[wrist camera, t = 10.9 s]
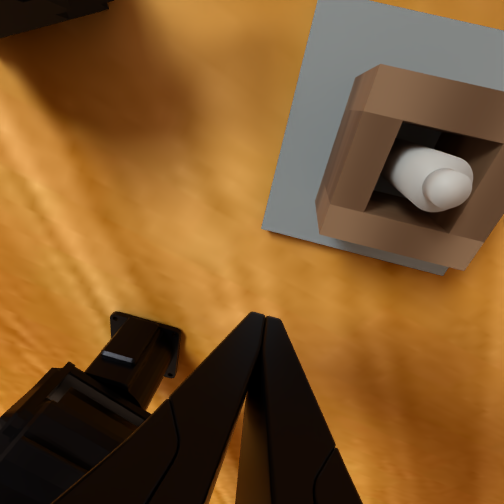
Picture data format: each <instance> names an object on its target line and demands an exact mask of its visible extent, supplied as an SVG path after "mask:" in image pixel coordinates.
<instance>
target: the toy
mask: <svg viewBox="0 0 504 504" xmlns="http://www.w3.org/2000/svg"><path fill="white" fill-rule="evenodd" d="M110 1H114V0H0V38H3V37H7V36H10V35H14V34H18V33H21V32H25V31H29V30H33V29H36V28H40V27H44V26H48V25H51V24H55V23H59V22H63V21H66V20H70V19H74V18H77V17H81V16H85V15H89V14H92V13H96V12H100V11H104V10H107V9H109V8H108V4H107V2H110Z"/></svg>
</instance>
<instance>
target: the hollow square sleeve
mask: <svg viewBox="0 0 504 504" xmlns="http://www.w3.org/2000/svg"><path fill="white" fill-rule="evenodd" d="M402 123H404V124H409V125H413V126H417V127H422V128H426V129H430V130H435V131H439V132H442V133H441V135H440V137H439V139H438V141H437V143H436V145H435V147H434V150H437V151H441V152H444V153H447V154H450V155H453V156H456V157H459V158H461V159H463V160H465V161H466V162H467V163H468V164H469V165H470V167H471V169H472V172H473V183H472V191H471V194H470V195H469V197H468V198H467V199H466V201H464V202H463V203H462V204H460V205H459V206H457V207H454V208H450V209H447V210H445V211H440V212H427V211H424V210H421V209H420V208H418V207H417V206H416V205H414V204H413V203H412V202H411V201H410V200H409V199H408V198H403V197H399V196H395V195H391V194H387V193H383V192H379V191H375V190H374V188H375V185H376V183H377V181H378V178H379V176H380V173H381V171H382V169H383V166H384V164H385V162H386V159H387V157H388V155H389V152H390V150H391V148H392V145H393V143H394V141H395V138H396V136H397V134H398V131H399V129H400V127H401V124H402ZM315 206H316V213H317V221H318V228H319V234H320V235H323V236H327V237H331V238H335V239H339V240H343V241H347V242H351V243H355V244H359V245H363V246H367V247H371V248H375V249H379V250H383V251H387V252H391V253H395V254H399V255H403V256H407V257H411V258H415V259H419V260H422V261H426V262H430V263H434V264H438V265H442V266H446V267H450V268H454V269H458V270H462V271H465V269H466V268H467V266H468V265H469V263H470V262H471V260H472V259H473V258H474V256H475V255H476V253H477V252H478V250H479V249H480V247H481V246H482V244H483V243H484V242H485V240H486V239H487V237H488V236H489V234H490V233H491V231H492V230H493V229H494V227H495V226H496V224H497V223H498V221H499V220H500V218H501V217H502V215H503V214H504V91H500V90H496V89H491V88H487V87H482V86H478V85H473V84H469V83H464V82H460V81H455V80H451V79H446V78H442V77H437V76H433V75H428V74H424V73H419V72H415V71H410V70H406V69H402V68H397V67H393V66H388V65H384V64H379V65H377V66H375V67H373V68H372V69H370V70H368V71H366V72H364V73H362V74H361V75H359V76H357V77H355V80H354V83H353V86H352V89H351V92H350V95H349V98H348V101H347V104H346V108H345V111H344V114H343V117H342V120H341V123H340V126H339V129H338V132H337V135H336V138H335V141H334V144H333V147H332V150H331V153H330V157H329V160H328V163H327V166H326V169H325V172H324V175H323V178H322V181H321V184H320V187H319V190H318V193H317V196H316V199H315Z"/></svg>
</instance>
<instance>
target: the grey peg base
mask: <svg viewBox="0 0 504 504" xmlns="http://www.w3.org/2000/svg"><path fill="white" fill-rule="evenodd" d="M379 64H384V65H388V66H393V67H397V68H402V69H406V70H410V71H415V72H419V73H424V74H428V75H433V76H437V77H442V78H446V79H451V80H455V81H460V82H464V83H469V84H473V85H478V86H482V87H487V88H491V89H496V90H500V91H504V31H503V30H499V29H494V28H490V27H485V26H481V25H476V24H472V23H467V22H463V21H458V20H454V19H449V18H445V17H441V16H436V15H432V14H427V13H423V12H418V11H414V10H409V9H405V8H400V7H396V6H391V5H387V4H382V3H378V2H373V1H369V0H318V2H317V6H316V10H315V14H314V18H313V22H312V26H311V30H310V34H309V38H308V42H307V46H306V50H305V54H304V58H303V62H302V66H301V70H300V74H299V78H298V82H297V86H296V90H295V94H294V98H293V102H292V106H291V110H290V114H289V118H288V123H287V127H286V131H285V135H284V139H283V143H282V147H281V151H280V155H279V159H278V163H277V167H276V171H275V175H274V179H273V183H272V187H271V191H270V195H269V199H268V203H267V207H266V211H265V215H264V219H263V223H262V227H261V229H264V230H268V231H272V232H276V233H280V234H284V235H288V236H291V237H295V238H299V239H303V240H307V241H311V242H314V243H318V244H322V245H326V246H330V247H334V248H337V249H341V250H345V251H349V252H353V253H357V254H360V255H364V256H368V257H372V258H376V259H380V260H383V261H387V262H391V263H395V264H399V265H403V266H406V267H410V268H414V269H418V270H422V271H426V272H429V273H433V274H437V275H441V276H443V275H444V274H445V272H446V271H447V269H448V268H449V267H446V266H442V265H438V264H434V263H430V262H426V261H422V260H419V259H415V258H411V257H407V256H403V255H399V254H395V253H391V252H387V251H383V250H379V249H375V248H371V247H367V246H363V245H359V244H355V243H351V242H347V241H343V240H339V239H335V238H331V237H327V236H323V235H320V234H319V228H318V221H317V213H316V206H315V199H316V196H317V193H318V190H319V187H320V184H321V181H322V178H323V175H324V172H325V169H326V166H327V163H328V160H329V157H330V153H331V150H332V147H333V144H334V141H335V138H336V135H337V132H338V129H339V126H340V123H341V120H342V117H343V114H344V111H345V108H346V104H347V101H348V98H349V95H350V92H351V89H352V86H353V83H354V80H355V77H357V76H359V75H361V74H362V73H364V72H366V71H368V70H370V69H372V68H373V67H375V66H377V65H379ZM441 133H442V132H439V131H435V130H430V129H426V128H422V127H417V126H413V125H409V124H404V123H402V124H401V127H400V129H399V131H398V134H397V136H396V138H395V141H394V143H393V145H392V148H391V150H390V152H389V155H388V157H387V159H386V162H385V164H384V166H383V169H382V171H381V173H380V176H379V178H378V181H377V183H376V185H375V188H374V190H375V191H379V192H383V193H387V194H391V195H395V196H399V197H403V198H408V199H409V200H410V201H411V202H412V203H413V204H414V205H416V206H417V207H418V208H420V209H421V210H424V211H427V212H440V211H445V210H447V209H450V208H454V207H457V206H459V205H460V204H462V203H463V202H464V201H466V199H467V198H468V197H469V195H470V194H471V191H472V183H473V172H472V169H471V167H470V165H469V164H468V163H467V162H466V161H465V160H463V159H461V158H459V157H456V156H453V155H450V154H447V153H444V152H441V151H437V150H434V147H435V145H436V143H437V141H438V139H439V137H440V135H441Z"/></svg>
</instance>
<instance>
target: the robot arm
mask: <svg viewBox="0 0 504 504" xmlns="http://www.w3.org/2000/svg"><path fill="white" fill-rule="evenodd" d="M110 325H111V340H110V341H109V342H108V343H107V344H106V346H105V347H104V348H103V349H102V351H101V352H100V354H99V355H98V356H97V357H96V358H95V360H94V361H93V362H92V363H91V365H90V366H89V367H88V368H87V369H86V371H85V372H83V371H81V370H79V369H78V368H76V367H75V365H74V364H73V363H71V362H68V363H67V364H66V365H65V366H64V367H63V368H51V369H50V370H49V371H48V372H47V373H46V374H45V375H44V377H43V378H42V379H41V380H40V381H39V382H38V383H37V384H36V385H35V386H34V387H33V388H32V389H31V390H30V391H28V392H27V393H26V394H25V395H24V396H23V397H22V398H21V399H20V400H18V401H17V402H16V403H15V404H14V405H13V406H12V407H11V408H10V409H8V410H7V411H6V412H5V413H4V414H3V415H2V416H1V417H0V504H209V501H210V498H211V495H212V493H213V490H214V487H215V484H216V481H217V478H218V475H219V472H220V470H221V467H222V464H223V461H224V458H225V455H226V452H227V449H228V447H229V444H230V441H231V438H232V435H233V432H234V429H235V426H236V423H237V421H238V418H239V415H240V412H241V409H242V406H243V403H244V400H245V397H246V401H245V409H244V419H243V430H242V440H241V450H240V460H239V470H238V480H237V490H236V500H235V504H363V503H362V501H361V499H360V496H359V494H358V492H357V490H356V488H355V486H354V484H353V481H352V479H351V477H350V475H349V473H348V471H347V468H346V466H345V464H344V462H343V459H342V457H341V455H340V452H339V450H338V448H335V446H336V444H335V441H334V439H333V437H332V435H331V432H330V430H329V428H328V425H327V423H326V421H325V419H324V416H323V414H322V412H321V409H320V407H319V405H318V403H317V400H316V398H315V396H314V394H313V391H312V389H311V387H310V384H309V382H308V380H307V378H306V375H305V373H304V371H303V368H302V366H301V364H300V362H299V359H298V357H297V355H296V353H295V350H294V348H293V346H292V343H291V341H290V339H289V337H288V334H287V332H286V330H285V328H284V325H283V323H282V321H281V320H280V319H279V318H275V317H271V316H266V317H265V315H264V314H260V313H257V312H250V313H249V314H248V315H247V316H246V317H245V318H244V319H243V320H242V321H241V322H240V323H239V324H238V325H237V326H236V327H235V328H234V329H233V330H232V332H231V333H230V334H229V335H228V336H227V337H226V338H225V339H224V340H223V341H222V342H221V343H220V344H219V345H218V346H217V347H216V348H215V349H214V350H213V351H212V352H211V353H210V354H209V356H208V357H207V358H206V359H205V360H204V361H203V362H202V363H201V364H200V365H199V366H198V367H197V368H196V369H195V370H194V371H193V372H192V373H191V374H190V375H189V376H188V377H187V378H186V379H185V381H184V382H183V383H182V384H181V385H180V386H179V387H178V388H177V389H176V390H175V391H174V392H173V393H172V394H171V395H170V396H169V399H166V400H165V401H164V402H163V403H162V404H161V405H160V406H159V407H158V408H157V409H156V410H155V412H154V413H153V414H150V413H149V412H147V411H146V410H147V408H148V406H149V404H150V402H151V400H152V398H153V396H154V394H155V392H156V390H157V388H158V386H159V384H160V382H161V380H162V378H163V377H164V376H165V377H168V378H174V377H175V375H176V373H177V364H178V356H179V347H180V339H181V331H180V330H179V329H178V328H175V327H171V326H168V325H164V324H160V323H157V322H153V321H150V320H146V319H142V318H139V317H135V316H132V315H128V314H124V313H121V312H117V311H115V312H113V313H112V315H111V316H110ZM246 394H247V395H246Z"/></svg>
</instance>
